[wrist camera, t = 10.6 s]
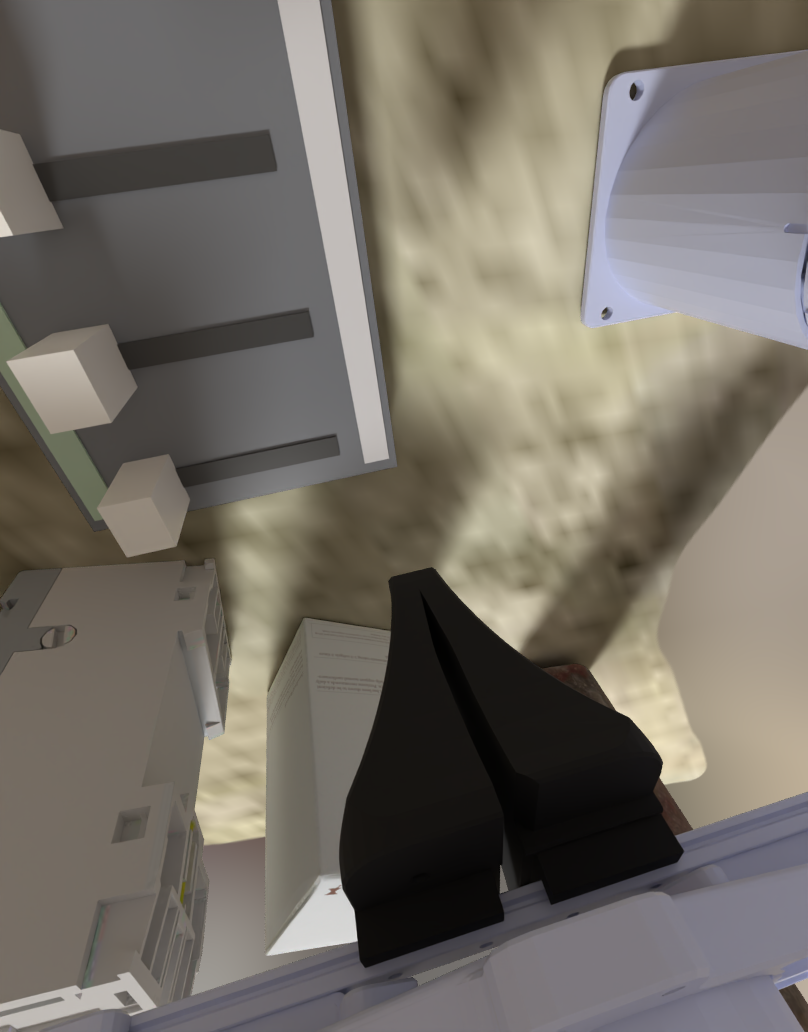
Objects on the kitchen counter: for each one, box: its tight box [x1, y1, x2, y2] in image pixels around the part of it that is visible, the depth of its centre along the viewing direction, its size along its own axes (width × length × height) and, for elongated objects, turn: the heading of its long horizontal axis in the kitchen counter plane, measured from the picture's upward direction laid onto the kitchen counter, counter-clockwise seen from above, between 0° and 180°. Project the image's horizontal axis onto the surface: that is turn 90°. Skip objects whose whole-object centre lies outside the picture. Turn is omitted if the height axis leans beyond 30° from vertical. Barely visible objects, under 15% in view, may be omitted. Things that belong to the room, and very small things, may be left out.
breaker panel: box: [0, 0, 397, 557], centre depth 13 cm, size 12×17×6 cm
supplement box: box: [265, 618, 391, 955], centre depth 24 cm, size 7×7×13 cm
